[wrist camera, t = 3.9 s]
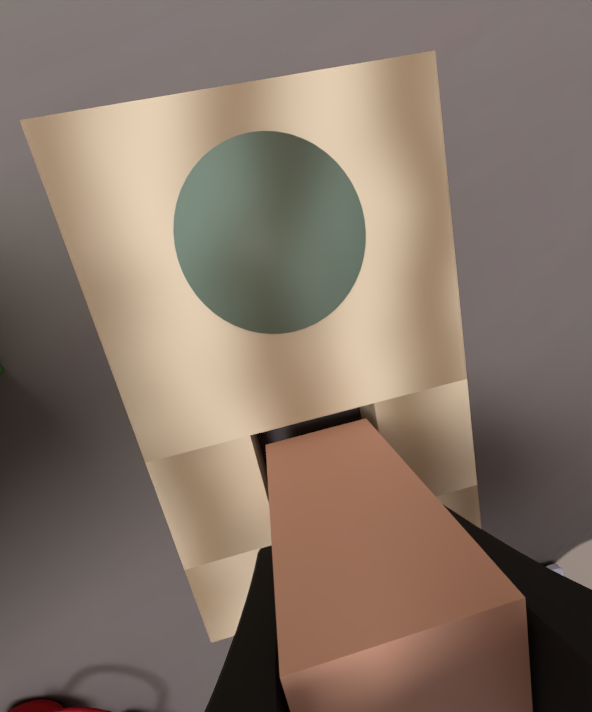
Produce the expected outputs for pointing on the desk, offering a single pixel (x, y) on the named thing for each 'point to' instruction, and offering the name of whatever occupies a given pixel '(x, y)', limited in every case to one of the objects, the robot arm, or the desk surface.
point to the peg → (384, 587)
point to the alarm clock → (50, 707)
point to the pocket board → (268, 287)
